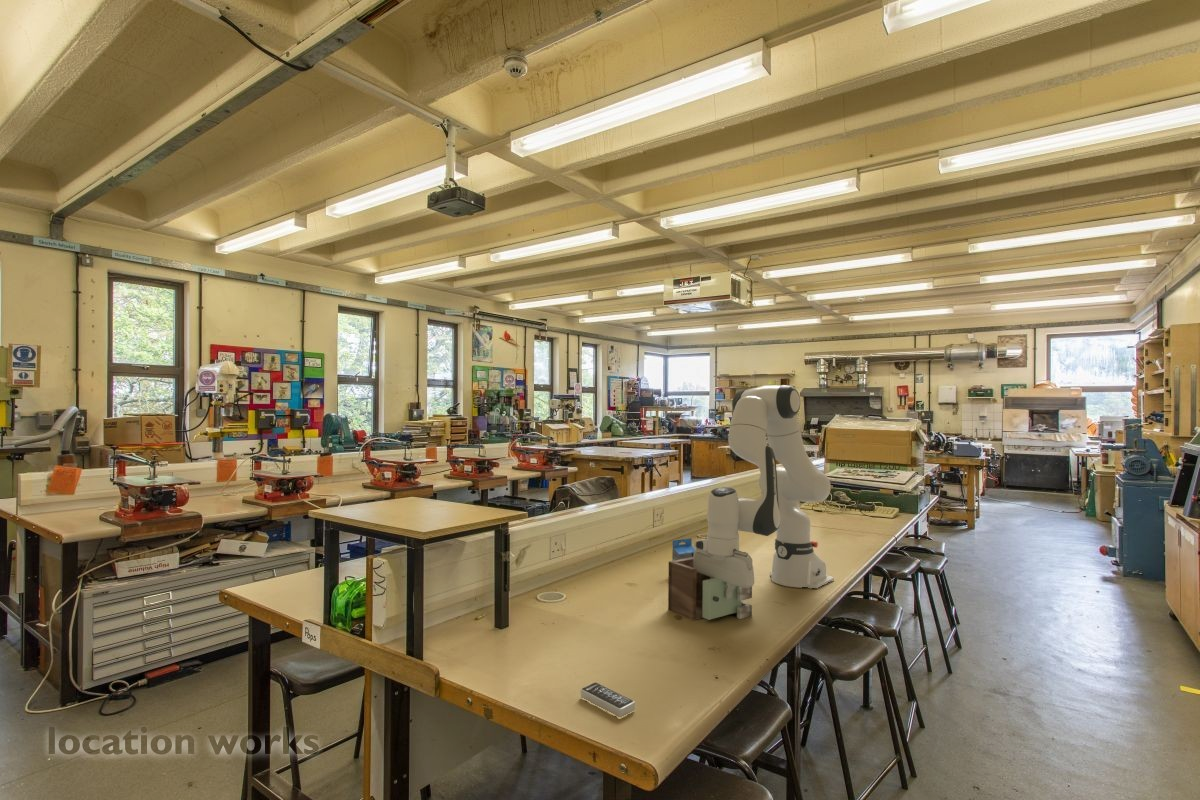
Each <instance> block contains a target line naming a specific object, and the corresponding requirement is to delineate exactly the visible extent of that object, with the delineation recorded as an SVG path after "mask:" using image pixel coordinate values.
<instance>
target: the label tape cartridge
mask: <svg viewBox="0 0 1200 800" xmlns="http://www.w3.org/2000/svg"><path fill="white" fill-rule="evenodd" d="M682 543H684V544H682ZM692 544H693V543H692V538H690V537H689V538H683V539H674V540H673V539H672V553H671V554H672V555H671V557H672V559H671V561H675V560H680V559H686V558H691V557H693V555H694V550H695V549H696V548H695V547H694V545H692Z"/></svg>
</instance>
